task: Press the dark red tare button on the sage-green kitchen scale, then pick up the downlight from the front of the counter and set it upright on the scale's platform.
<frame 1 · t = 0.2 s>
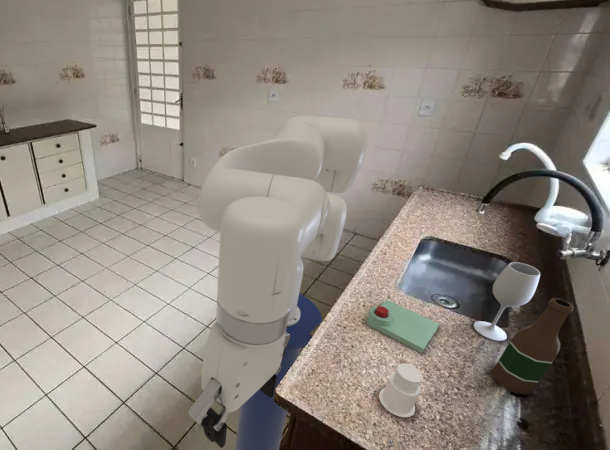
hand: (240, 412, 45), 29 cm above the worktop, tool pointing down, fingers open, 9 cm apart
beer bottle: (510, 381, 82), on the worktop
wineglass: (489, 331, 96), on the worktop
scale: (401, 326, 98), on the worktop
downlight: (395, 403, 78), on the worktop
tare button: (381, 312, 97), point 4 cm above the worktop, slide at 0.1 cm
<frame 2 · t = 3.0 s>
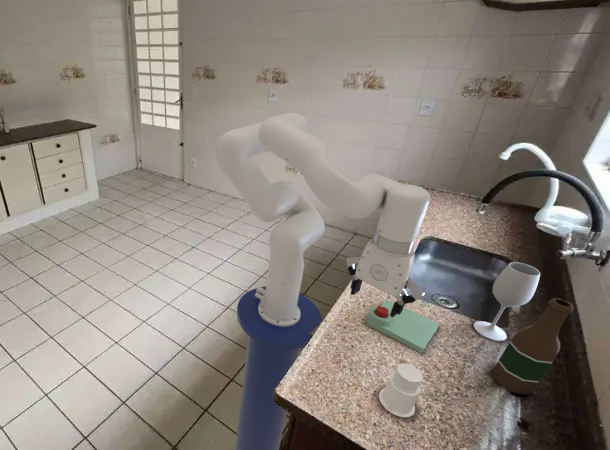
hand: (373, 302, 83), 16 cm above the worktop, tool pointing down, fingers open, 9 cm apart
nothing on the worktop moved.
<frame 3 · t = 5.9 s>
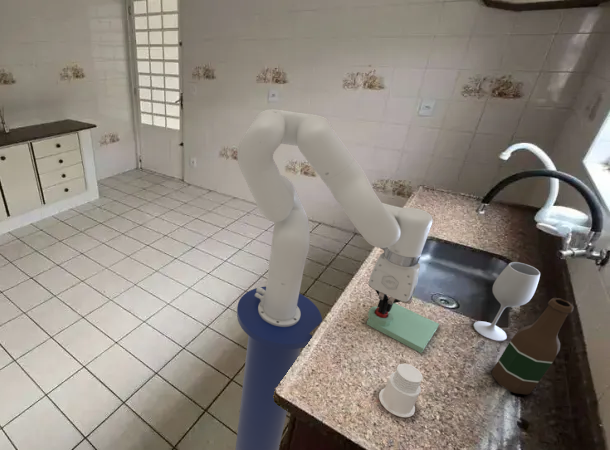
hand: (383, 310, 97), 5 cm above the worktop, tool pointing down, fingers closed
tare button: (381, 313, 97), point 4 cm above the worktop, slide at -0.2 cm, touching gripper
everything else where it was.
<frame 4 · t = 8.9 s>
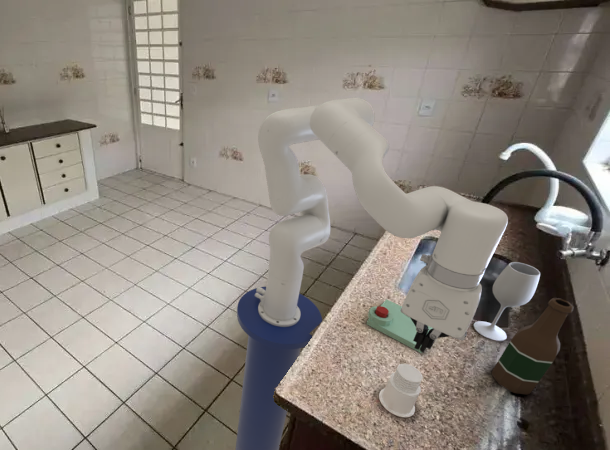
hand: (421, 346, 69), 17 cm above the worktop, tool pointing down, fingers closed
tare button: (381, 312, 97), point 4 cm above the worktop, slide at 0.1 cm
everything else where it was.
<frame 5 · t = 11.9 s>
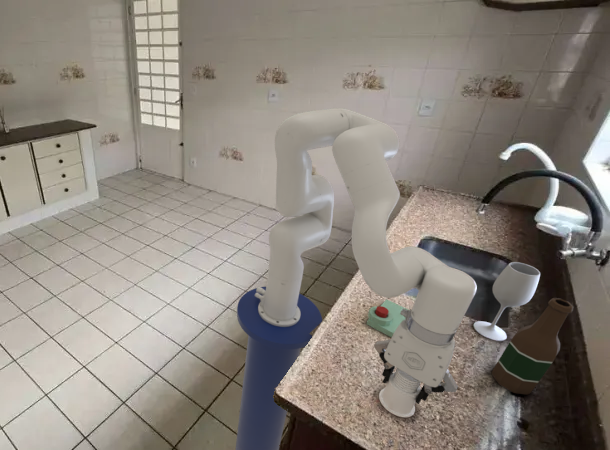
hand: (402, 388, 75), 5 cm above the worktop, tool pointing down, fingers closed on downlight, 5 cm apart
downlight: (395, 403, 78), on the worktop, touching gripper
everything else where it was.
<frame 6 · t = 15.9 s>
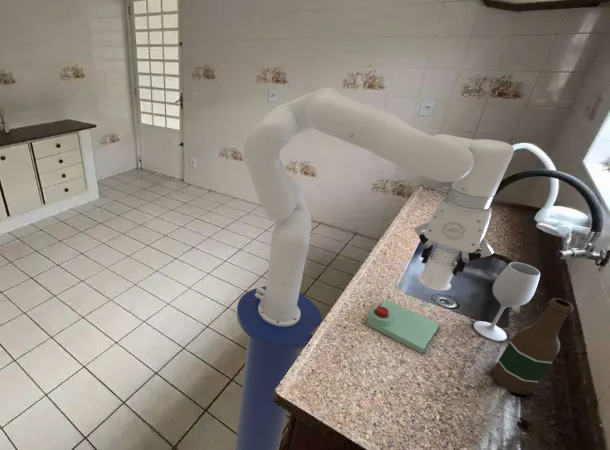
hand: (440, 266, 84), 23 cm above the worktop, tool pointing down, fingers closed on downlight, 5 cm apart
downlight: (433, 283, 86), point 18 cm above the worktop, touching gripper
everything else where it was.
when the fingers open (7 cm above the worktop, at t = 20.4 s): downlight stays where it is, resting on scale.
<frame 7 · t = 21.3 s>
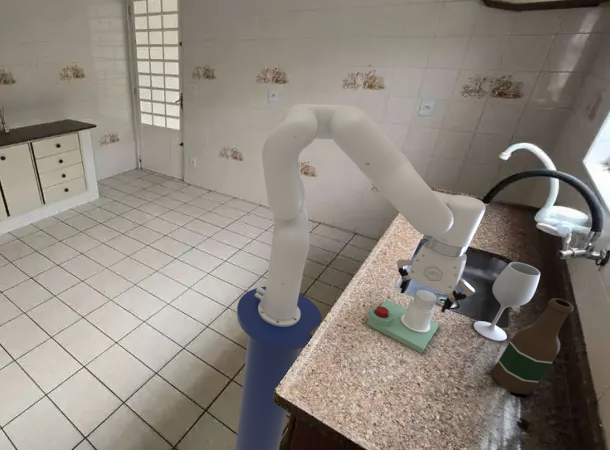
hand: (422, 300, 93), 10 cm above the worktop, tool pointing down, fingers open, 9 cm apart
downlight: (414, 324, 97), point 2 cm above the worktop, touching scale
everything else where it was.
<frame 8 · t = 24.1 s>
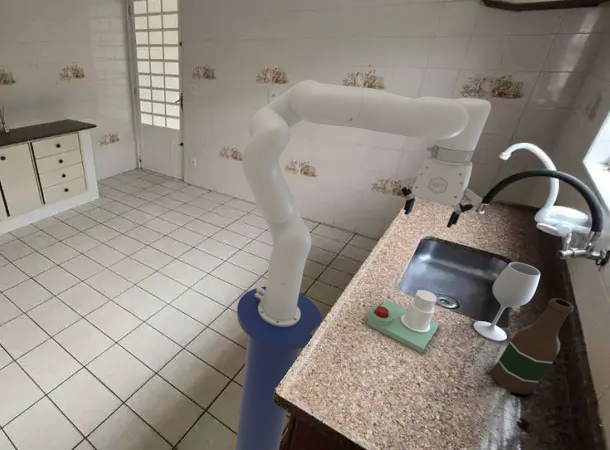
hand: (427, 219, 90), 30 cm above the worktop, tool pointing down, fingers open, 9 cm apart
nothing on the worktop moved.
at the end: tare button pushed in 1.1 cm at the most during the clip, back to where it started at the end; downlight inside the target area on the scale (0.0 cm from its centre), point 1.5 cm above the scale's base; downlight touching scale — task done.
